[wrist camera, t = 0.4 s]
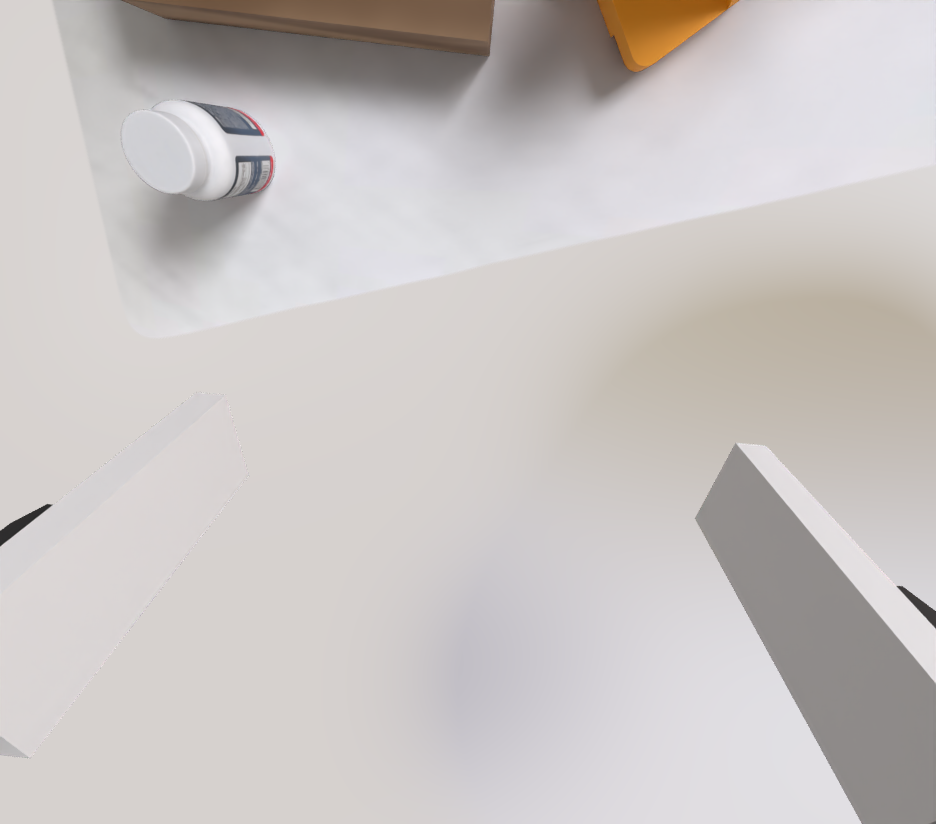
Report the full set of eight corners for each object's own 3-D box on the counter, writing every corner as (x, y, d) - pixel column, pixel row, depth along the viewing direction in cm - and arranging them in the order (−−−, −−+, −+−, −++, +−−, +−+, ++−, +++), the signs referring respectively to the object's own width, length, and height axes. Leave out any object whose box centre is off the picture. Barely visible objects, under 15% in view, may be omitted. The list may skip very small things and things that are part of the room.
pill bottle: (191, 116, 29) (84, 103, 21) (258, 101, 28) (172, 81, 21) (226, 199, 32) (143, 213, 24) (288, 187, 31) (222, 197, 23)
